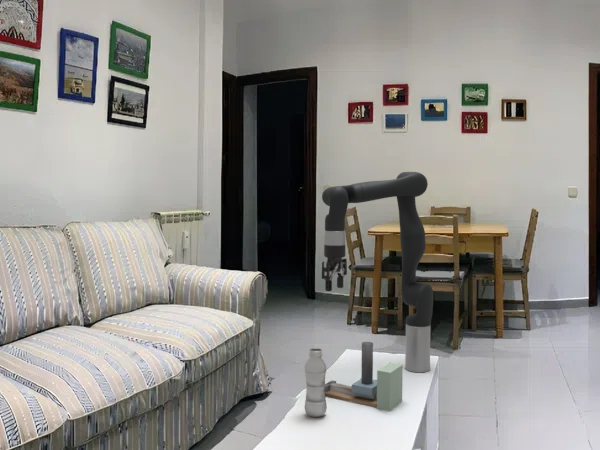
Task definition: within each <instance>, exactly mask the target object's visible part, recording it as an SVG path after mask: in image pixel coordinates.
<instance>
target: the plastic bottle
mask: <svg viewBox="0 0 600 450" xmlns="http://www.w3.org/2000/svg"><path fill="white" fill-rule="evenodd" d="M308 353H309V354H308V356H309V358H308V359H307V361H306V362H305V364H304V373H305V375H304V376H305V383H306V387H305V388H306V393H305V399H304V400H305V401H304V411H305V414H306V415H307V416H309V417H313V418H318V417H323V416H325V415H326V413H327V409H328V408H327V405H328V404H327V400H326V396H325V389H324V388H325V386H324V385H325V384H326V381H325V380H326V375H327V364H326V363H325V361H324V360H323V358H322V357H323V349H322V348H319V347H315V348H314V347H313V348H310V349H309V351H308Z"/></svg>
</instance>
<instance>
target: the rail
mask: <svg viewBox="0 0 600 450" xmlns="http://www.w3.org/2000/svg"><path fill="white" fill-rule="evenodd" d="M324 386H325V388H324V389H325V398H331V399H336V400H340V401H343V402H344V401H345V402H349V403H353V404H359V405H363V406H366V407H367V406H368V407H372V408H376V409H377V393H375V398H374V399H372V398H367V397H362V396H358V395H354V392H352V385H346V384H342V383H338V382H337V381H336V380H330V381H328V382H325V385H324Z"/></svg>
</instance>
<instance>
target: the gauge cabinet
mask: <svg viewBox="0 0 600 450" xmlns="http://www.w3.org/2000/svg"><path fill="white" fill-rule="evenodd" d="M403 368H404V366H403V364H401V363H396V362H391V361H390V362H388V363H386V364H385V365H383V366H382V367H380V368H379V369H378V370H377V371H376V380H377V408H376V409H378V410H383V411H386V412H391V411H392V410H393V409H394V408H396V407H397V406H399V405H400V404H401V403H402V402H403V379H404V378H403V377H404V376H403V373H404V372H403V371H404V370H403Z"/></svg>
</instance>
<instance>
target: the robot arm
mask: <svg viewBox="0 0 600 450" xmlns="http://www.w3.org/2000/svg"><path fill="white" fill-rule="evenodd" d="M428 184H429V183H428V180H427V177H426V176H425V175H424V174H422V173H421V172H418V171H417V172H416V171H403V172H400V173H399V174H398V175H397V176H396V178H395V179H388V180H387V179H385V180H371V181H363V182H357V183H352V184H348V185H336V186H329V187H327V188H326V189H324V190H323V192H322V195H321V200H322V202H323V203H324V204H325V205H326V206H328V207H329V210H328V214H326V215H325V219H324V236H323V237H324V239H323V257H325V258H326V259H327V261H322V263H321V279H322V280H323V281H325V283H324V284H325V285H324V286H325V287H324V289H325V291H326V292H332V290H333V277H334V276H337V278H336V287H337V288H338V289H343V288H344V278H345V276H347V274H348V267H347V266H348V264H347V263H348V262H347V258H345V257H346V240H347V239H346V238H347V236H346V231H345V230H346V220H345V219H346V215H347V211H348V206H349V204H360V203H367V202H371V201H372V202H373V201H376V200H383V199H387V198H394V197H395V198H396V200H397V201H396V202H397V207H398V215H399V216H398V219H399V221H398V222H399V232H400V233H399V235H400V236H399V237H400V249H401V250H400V251H401V298H402V301H403V303H404V305H407V306H411V307H416V311H415V313H413V314H410V315H409V314H408V315H407V316H406V318H405V354H404V355H405V359H404V360H405V362H404V363H405V366H404V368H405V370H407V371H410V372H412V373H428V372H429V371H430V370H431V325H432V324H431V322H432V317H433V307H434V289H433V287H432V285H430V284H429V283H426V282H418V281H417V278H416V277H417V275H416V274H417V268H418V265H419V263H420V261H421V259H422V258H423V255H424V253H425V251H426V245H427V244H426V232H425V230H426V229H425V227H424V225H423V222H422V220H421V218H420V216H419V213H418V210H417V203H416V198H417V197H420V196H422V195H424V193H426V191H427V188H428Z"/></svg>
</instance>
